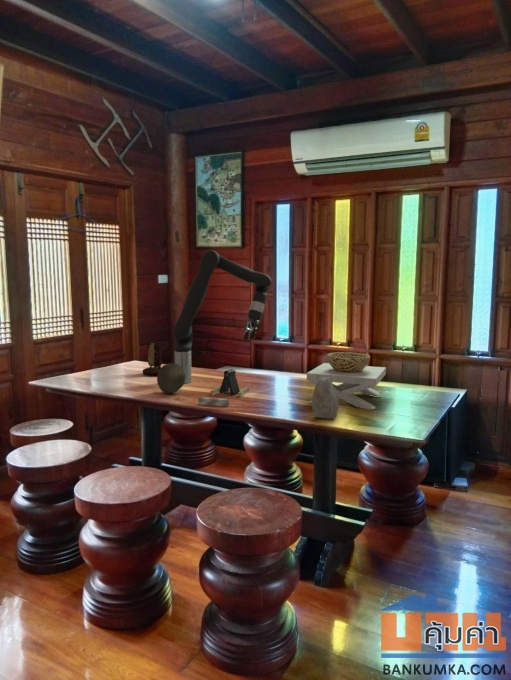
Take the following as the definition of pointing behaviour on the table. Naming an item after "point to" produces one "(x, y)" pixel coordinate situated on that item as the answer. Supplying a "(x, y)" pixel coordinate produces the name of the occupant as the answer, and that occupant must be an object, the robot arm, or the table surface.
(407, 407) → the table surface
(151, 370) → the oval plaque on stand
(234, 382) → the phone stand
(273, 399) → the table surface
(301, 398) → the table surface
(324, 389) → the decorative stone
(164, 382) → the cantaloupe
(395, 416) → the table surface
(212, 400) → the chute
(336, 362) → the small white table
